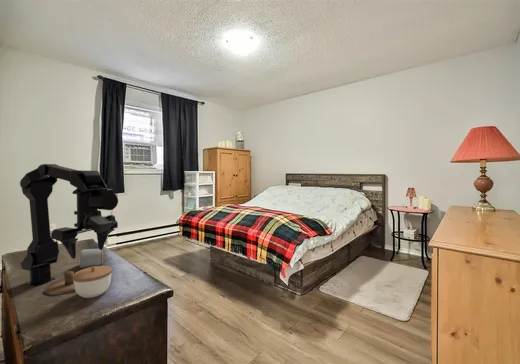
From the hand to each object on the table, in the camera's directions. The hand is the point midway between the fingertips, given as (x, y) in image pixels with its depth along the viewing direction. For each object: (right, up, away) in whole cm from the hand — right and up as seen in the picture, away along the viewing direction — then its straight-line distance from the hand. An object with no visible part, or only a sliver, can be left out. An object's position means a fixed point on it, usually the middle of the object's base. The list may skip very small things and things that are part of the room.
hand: (87, 253), depth 82 cm
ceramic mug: (-16, -13, +25) cm, 32 cm away
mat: (-10, -13, +5) cm, 17 cm away
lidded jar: (+2, -14, 0) cm, 14 cm away
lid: (-10, -13, +5) cm, 17 cm away
